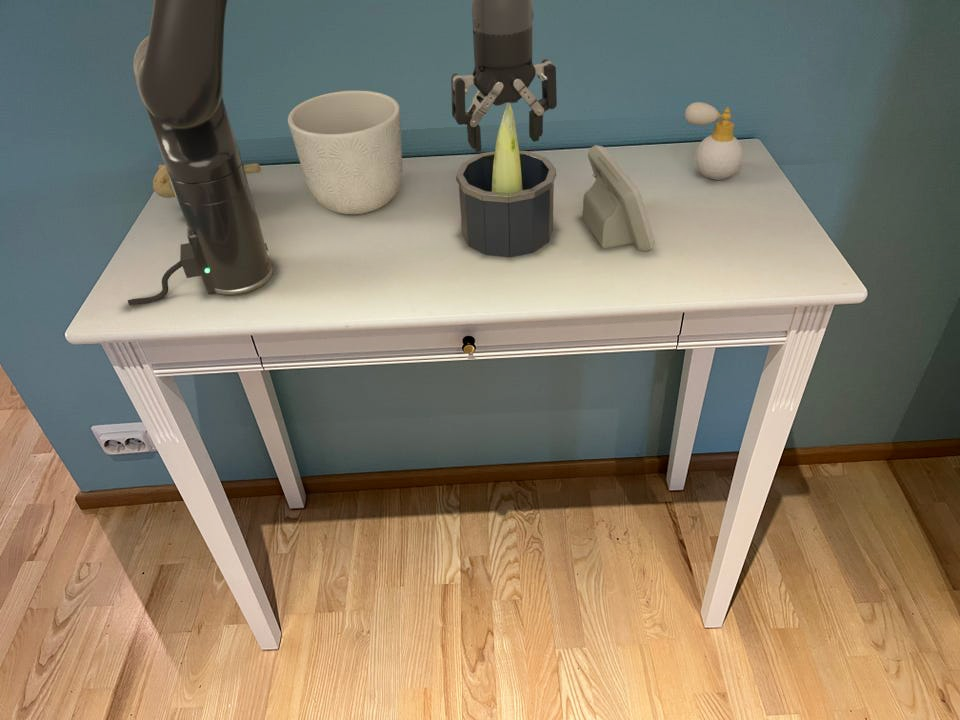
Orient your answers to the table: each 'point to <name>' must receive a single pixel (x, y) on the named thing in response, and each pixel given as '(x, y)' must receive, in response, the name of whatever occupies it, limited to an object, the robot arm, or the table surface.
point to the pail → (506, 206)
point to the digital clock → (615, 205)
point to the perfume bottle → (715, 142)
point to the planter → (349, 149)
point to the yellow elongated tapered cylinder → (507, 156)
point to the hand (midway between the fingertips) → (505, 144)
